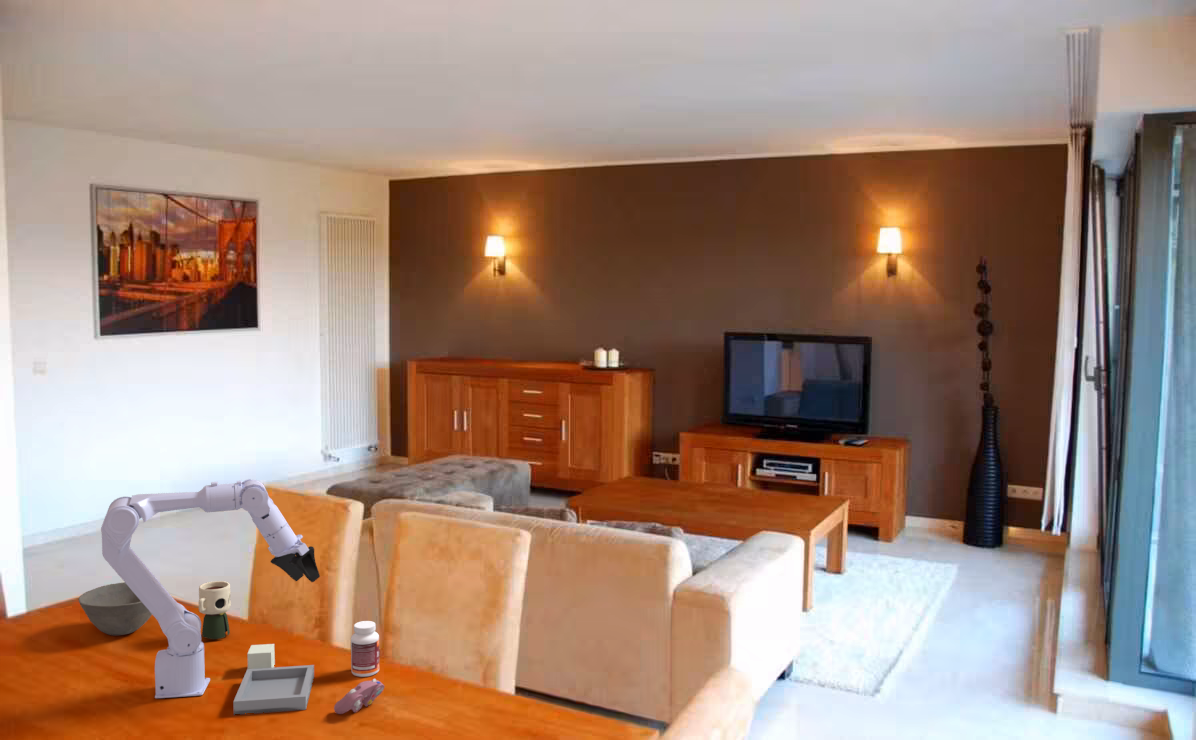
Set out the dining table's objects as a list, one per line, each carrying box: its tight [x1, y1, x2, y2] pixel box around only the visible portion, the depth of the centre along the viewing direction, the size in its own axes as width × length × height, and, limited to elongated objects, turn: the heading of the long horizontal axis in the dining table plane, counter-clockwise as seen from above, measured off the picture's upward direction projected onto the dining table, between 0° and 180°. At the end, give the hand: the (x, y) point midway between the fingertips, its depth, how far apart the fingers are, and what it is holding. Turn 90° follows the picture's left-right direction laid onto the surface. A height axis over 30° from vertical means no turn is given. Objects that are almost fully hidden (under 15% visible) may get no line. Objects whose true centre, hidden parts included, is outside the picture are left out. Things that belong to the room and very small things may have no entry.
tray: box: [233, 664, 315, 716], centre depth 198 cm, size 14×16×3 cm
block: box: [247, 643, 276, 669], centre depth 211 cm, size 5×5×5 cm
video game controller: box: [333, 678, 385, 715], centre depth 192 cm, size 10×5×7 cm, turn 148°
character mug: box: [198, 580, 232, 640], centre depth 229 cm, size 11×7×13 cm, turn 164°
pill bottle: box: [350, 620, 380, 678], centre depth 210 cm, size 6×6×11 cm
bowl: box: [78, 581, 153, 637], centre depth 232 cm, size 19×19×10 cm
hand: (307, 578), depth 208 cm, fingers open, 7 cm apart
